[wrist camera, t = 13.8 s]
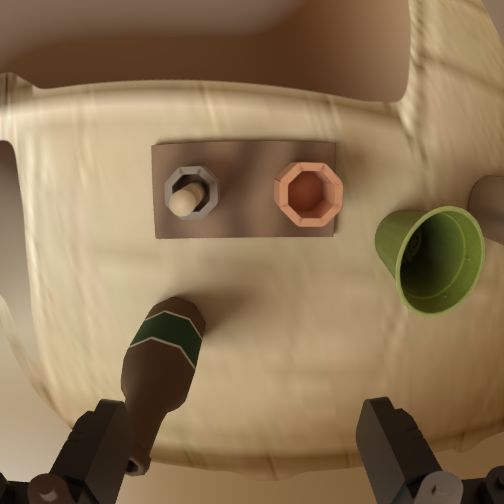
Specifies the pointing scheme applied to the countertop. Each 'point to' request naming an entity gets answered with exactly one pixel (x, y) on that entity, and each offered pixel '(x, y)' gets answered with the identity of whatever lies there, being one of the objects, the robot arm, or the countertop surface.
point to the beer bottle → (159, 372)
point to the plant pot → (432, 257)
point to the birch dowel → (187, 198)
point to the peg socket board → (231, 187)
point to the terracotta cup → (308, 193)
